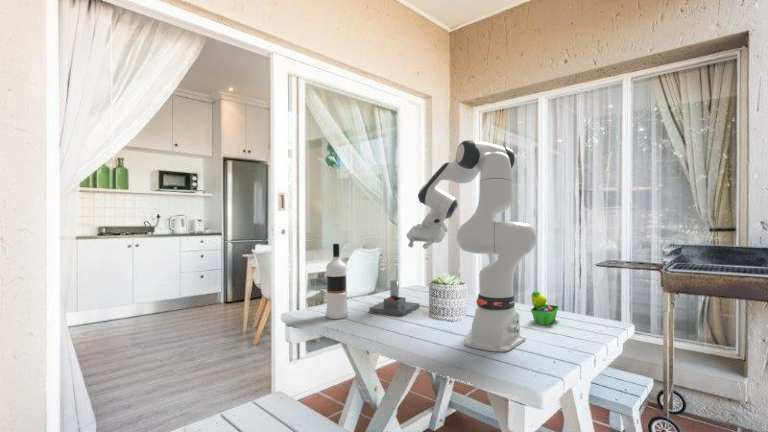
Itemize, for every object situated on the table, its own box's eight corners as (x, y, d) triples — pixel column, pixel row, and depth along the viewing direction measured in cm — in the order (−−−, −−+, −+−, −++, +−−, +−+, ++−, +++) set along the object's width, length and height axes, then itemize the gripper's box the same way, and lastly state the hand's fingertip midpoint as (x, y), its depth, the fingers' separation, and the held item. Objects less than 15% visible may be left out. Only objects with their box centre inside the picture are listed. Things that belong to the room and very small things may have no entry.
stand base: (402, 316, 165) (402, 302, 165) (369, 312, 173) (369, 298, 173) (419, 307, 179) (419, 294, 179) (387, 304, 187) (387, 291, 187)
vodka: (336, 321, 160) (334, 245, 160) (321, 317, 166) (319, 243, 166) (353, 316, 167) (352, 243, 166) (338, 312, 173) (337, 242, 173)
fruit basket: (551, 326, 149) (551, 295, 149) (527, 322, 154) (526, 292, 154) (559, 319, 158) (559, 290, 158) (536, 315, 163) (535, 287, 163)
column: (396, 306, 173) (396, 282, 173) (388, 305, 175) (388, 281, 175) (400, 304, 177) (400, 280, 176) (392, 303, 179) (392, 279, 178)
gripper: (412, 219, 197) (397, 241, 191) (444, 220, 181) (429, 244, 175) (419, 228, 200) (405, 250, 194) (451, 230, 184) (436, 253, 178)
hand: (416, 247), depth 185 cm, fingers open, 8 cm apart
